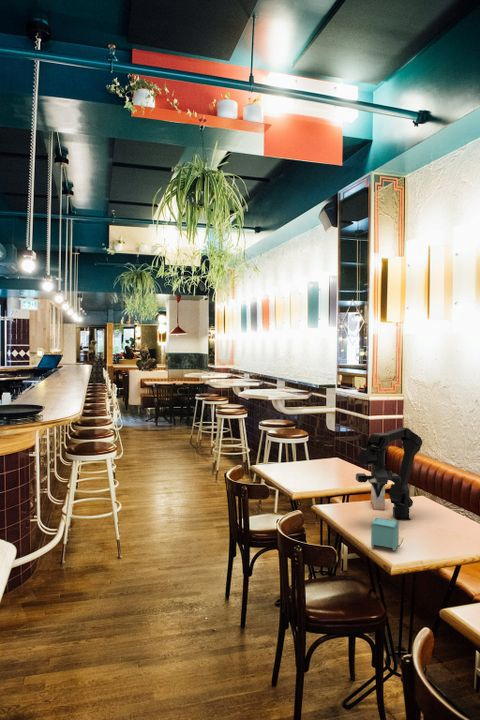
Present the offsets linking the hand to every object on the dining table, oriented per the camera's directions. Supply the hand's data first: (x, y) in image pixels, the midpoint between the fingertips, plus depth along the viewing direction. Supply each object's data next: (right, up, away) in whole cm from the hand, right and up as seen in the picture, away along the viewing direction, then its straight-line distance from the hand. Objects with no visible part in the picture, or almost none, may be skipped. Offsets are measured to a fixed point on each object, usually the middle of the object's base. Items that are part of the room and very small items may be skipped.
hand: (377, 497), depth 218 cm
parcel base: (-1, -13, -18) cm, 22 cm away
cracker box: (+8, -13, +28) cm, 32 cm away
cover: (-4, -13, -25) cm, 29 cm away
